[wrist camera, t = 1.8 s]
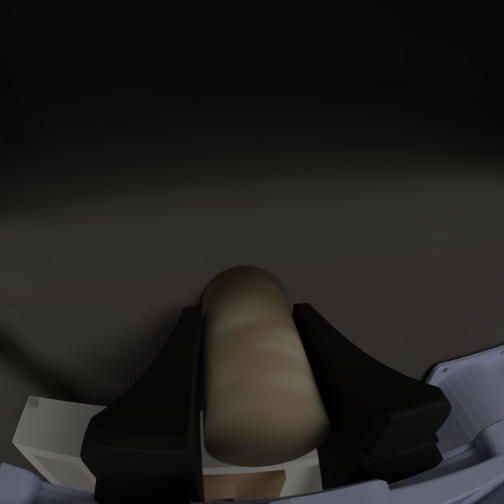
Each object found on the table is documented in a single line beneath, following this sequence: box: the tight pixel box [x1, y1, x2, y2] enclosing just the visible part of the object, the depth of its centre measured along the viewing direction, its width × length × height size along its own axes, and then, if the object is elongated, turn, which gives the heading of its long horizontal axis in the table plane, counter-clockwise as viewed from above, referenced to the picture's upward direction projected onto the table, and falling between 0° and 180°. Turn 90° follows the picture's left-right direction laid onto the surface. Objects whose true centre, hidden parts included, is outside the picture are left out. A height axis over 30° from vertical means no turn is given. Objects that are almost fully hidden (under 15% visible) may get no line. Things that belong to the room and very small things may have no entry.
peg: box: [202, 266, 330, 467], centre depth 11 cm, size 4×4×7 cm
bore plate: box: [203, 469, 286, 502], centre depth 21 cm, size 12×12×2 cm
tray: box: [12, 395, 322, 497], centre depth 21 cm, size 22×22×4 cm
